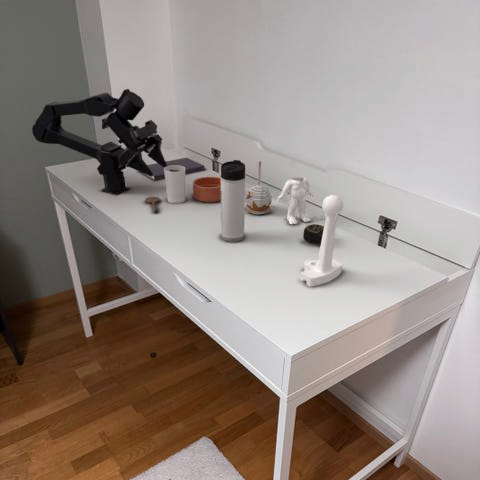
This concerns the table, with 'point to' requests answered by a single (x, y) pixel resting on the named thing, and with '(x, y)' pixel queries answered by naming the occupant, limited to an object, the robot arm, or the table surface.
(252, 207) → the decorative ornament
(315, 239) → the tape measure
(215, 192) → the terracotta bowl
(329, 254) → the joystick
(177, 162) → the notebook
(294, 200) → the toy creature
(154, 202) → the walnut spoon
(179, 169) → the white paper coffee cup
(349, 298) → the table surface
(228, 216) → the travel mug
